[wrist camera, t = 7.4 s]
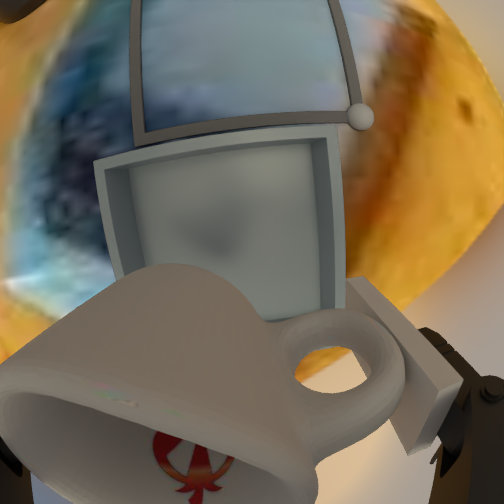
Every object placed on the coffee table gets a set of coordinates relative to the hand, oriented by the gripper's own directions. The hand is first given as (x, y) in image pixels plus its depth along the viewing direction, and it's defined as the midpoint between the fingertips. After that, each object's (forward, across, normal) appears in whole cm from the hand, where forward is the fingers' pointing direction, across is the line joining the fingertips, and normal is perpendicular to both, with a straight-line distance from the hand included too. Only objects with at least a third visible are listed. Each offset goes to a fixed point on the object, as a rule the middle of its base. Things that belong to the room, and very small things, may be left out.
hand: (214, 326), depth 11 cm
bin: (+13, 0, 0) cm, 13 cm away
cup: (+1, 0, 0) cm, 1 cm away
